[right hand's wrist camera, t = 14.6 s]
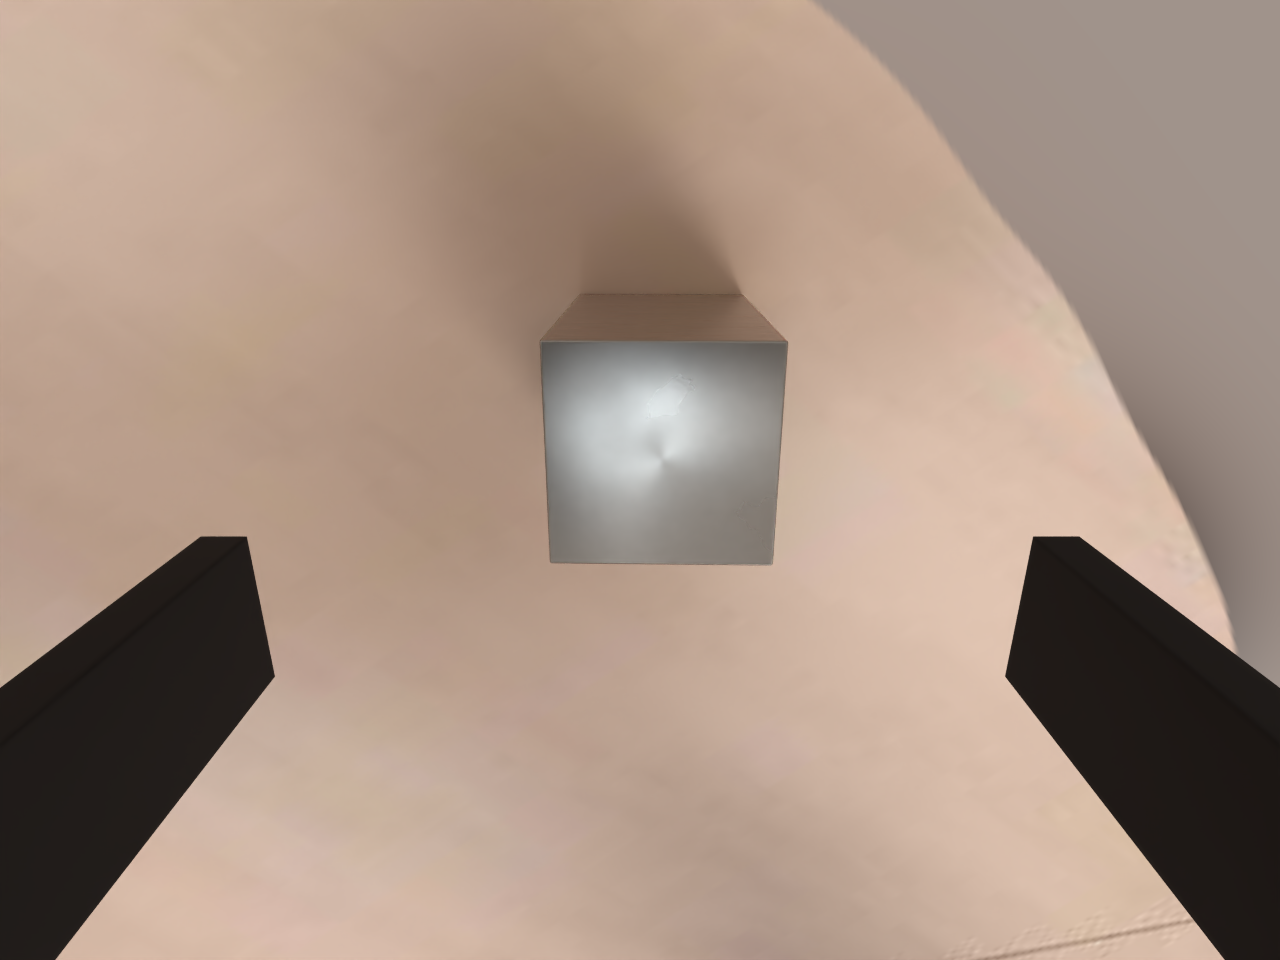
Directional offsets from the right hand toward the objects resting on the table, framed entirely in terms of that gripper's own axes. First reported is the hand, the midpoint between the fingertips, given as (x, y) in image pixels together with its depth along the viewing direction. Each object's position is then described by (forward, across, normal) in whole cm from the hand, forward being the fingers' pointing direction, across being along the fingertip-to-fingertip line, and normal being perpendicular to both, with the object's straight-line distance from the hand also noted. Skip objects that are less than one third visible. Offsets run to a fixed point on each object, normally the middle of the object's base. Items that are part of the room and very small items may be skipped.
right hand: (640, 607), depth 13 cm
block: (+18, +1, 0) cm, 18 cm away
